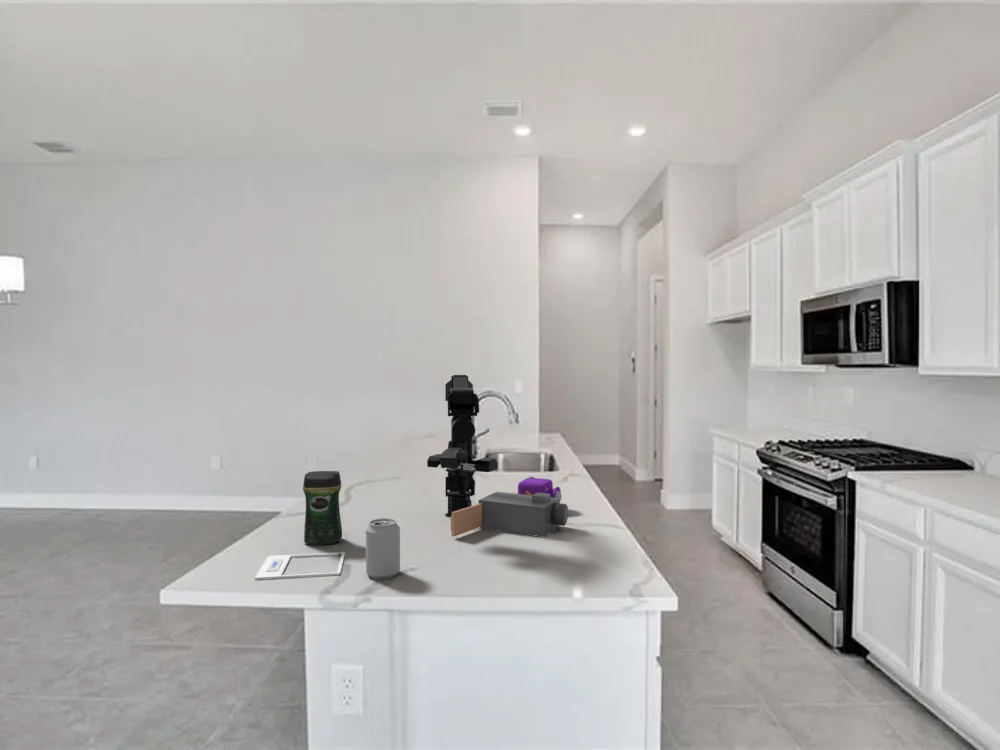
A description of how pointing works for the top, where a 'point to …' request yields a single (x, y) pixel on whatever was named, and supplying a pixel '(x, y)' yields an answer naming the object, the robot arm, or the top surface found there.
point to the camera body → (523, 513)
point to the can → (382, 548)
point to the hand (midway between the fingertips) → (462, 495)
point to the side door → (466, 519)
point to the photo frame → (277, 564)
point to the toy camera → (538, 487)
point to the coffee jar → (322, 507)
